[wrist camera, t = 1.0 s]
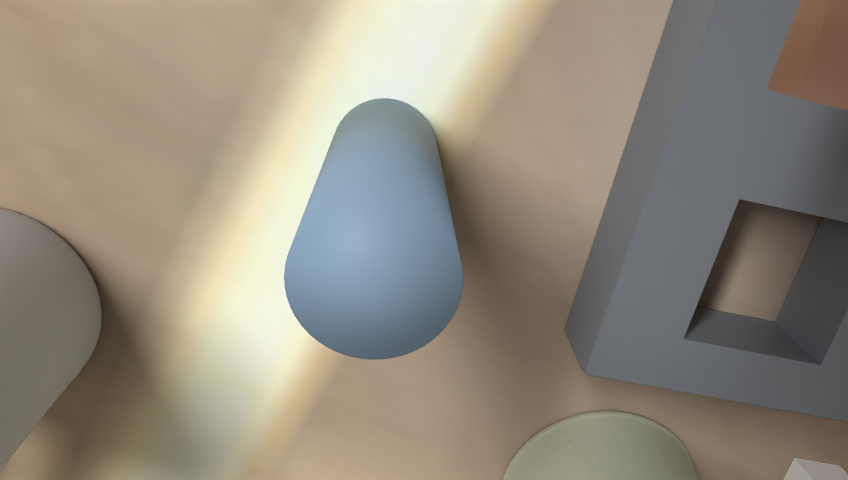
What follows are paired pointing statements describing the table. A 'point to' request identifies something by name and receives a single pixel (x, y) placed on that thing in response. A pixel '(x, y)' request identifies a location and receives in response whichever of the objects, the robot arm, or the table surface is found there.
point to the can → (602, 451)
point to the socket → (720, 222)
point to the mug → (40, 323)
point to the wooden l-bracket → (815, 55)
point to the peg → (376, 238)
